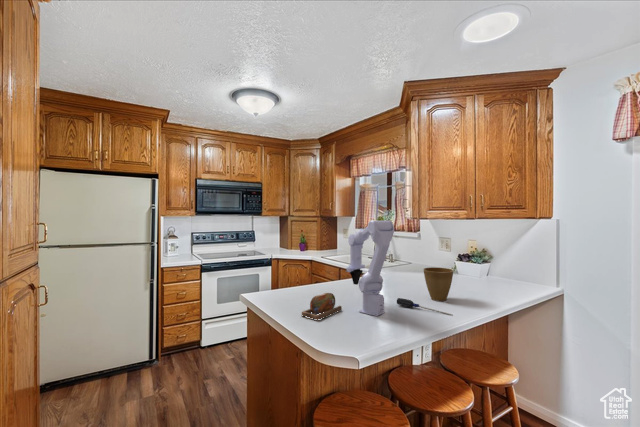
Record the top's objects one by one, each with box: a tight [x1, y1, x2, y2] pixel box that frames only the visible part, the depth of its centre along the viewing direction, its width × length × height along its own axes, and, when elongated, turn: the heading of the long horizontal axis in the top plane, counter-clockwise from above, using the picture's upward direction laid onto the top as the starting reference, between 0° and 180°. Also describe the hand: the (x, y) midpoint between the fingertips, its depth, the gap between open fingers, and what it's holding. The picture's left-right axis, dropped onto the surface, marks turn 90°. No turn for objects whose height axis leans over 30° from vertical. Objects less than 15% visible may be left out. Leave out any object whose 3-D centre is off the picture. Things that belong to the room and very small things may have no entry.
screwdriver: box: [396, 297, 454, 317], centre depth 141 cm, size 26×4×4 cm, turn 55°
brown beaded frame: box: [301, 305, 343, 320], centre depth 136 cm, size 9×18×2 cm, turn 141°
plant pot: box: [423, 266, 454, 302], centre depth 159 cm, size 15×15×16 cm
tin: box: [309, 292, 336, 315], centre depth 137 cm, size 15×3×8 cm, turn 136°
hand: (355, 284), depth 153 cm, fingers closed
